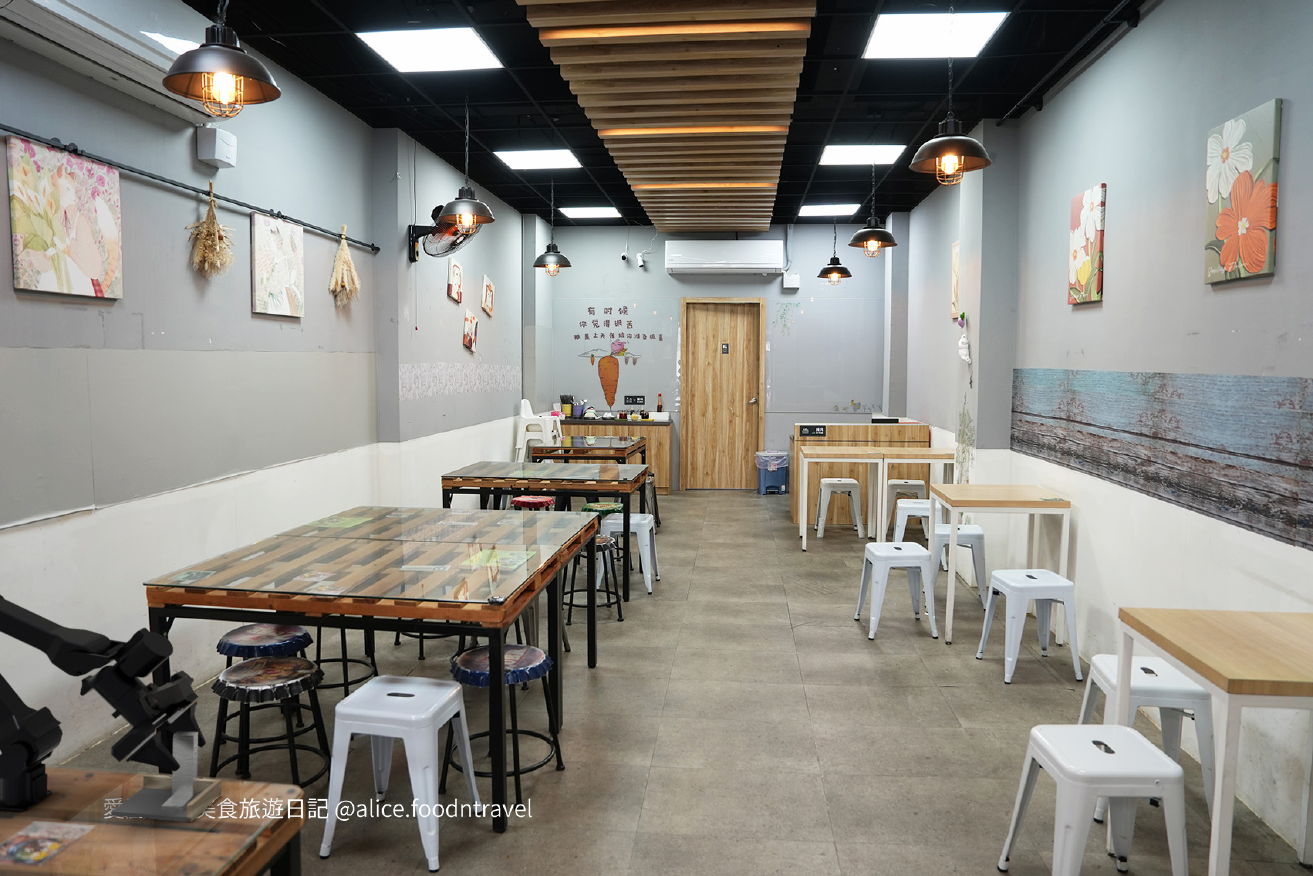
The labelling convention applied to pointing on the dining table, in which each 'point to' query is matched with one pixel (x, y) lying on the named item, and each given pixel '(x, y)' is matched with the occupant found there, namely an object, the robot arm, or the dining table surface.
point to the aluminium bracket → (183, 772)
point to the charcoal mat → (150, 806)
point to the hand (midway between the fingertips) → (191, 757)
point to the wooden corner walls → (208, 794)
